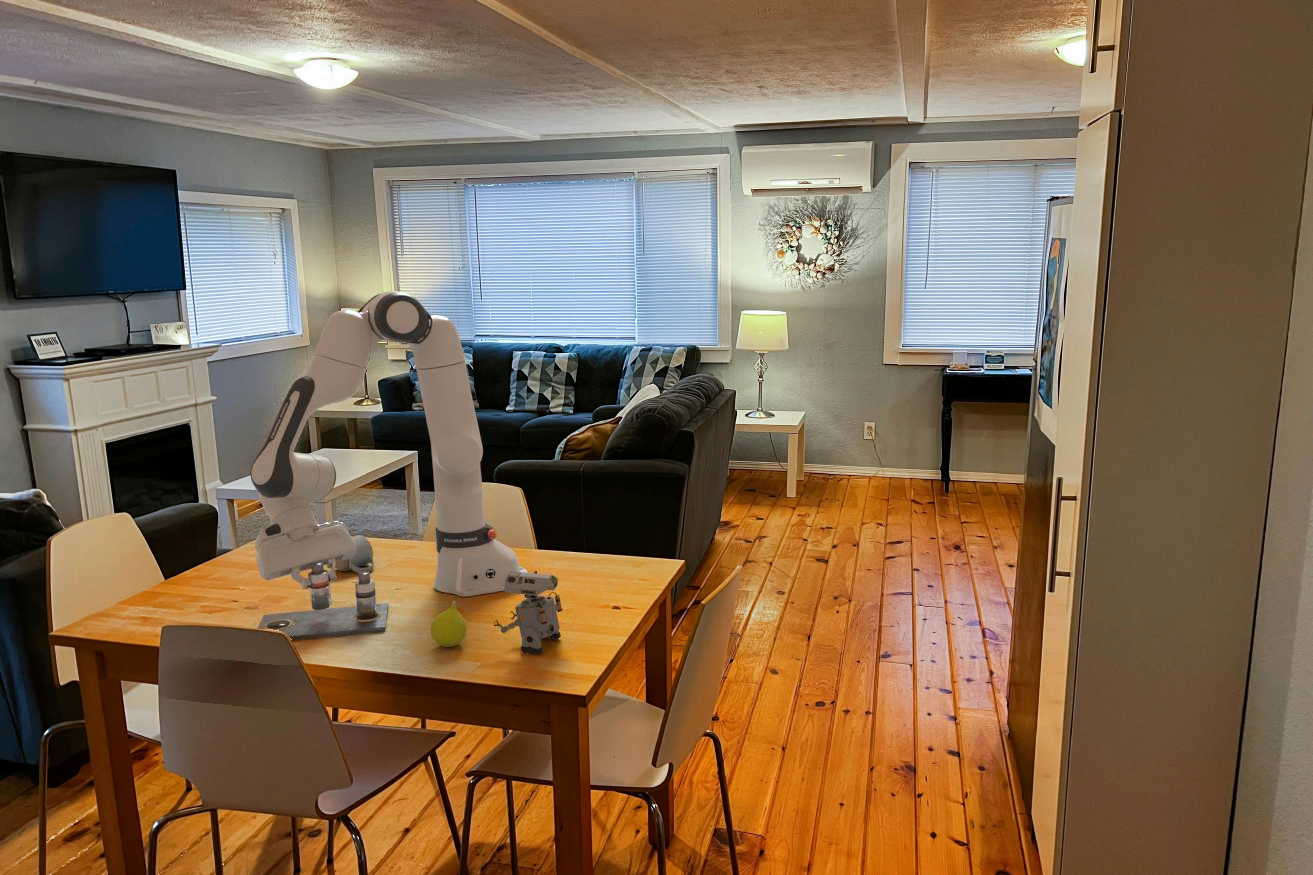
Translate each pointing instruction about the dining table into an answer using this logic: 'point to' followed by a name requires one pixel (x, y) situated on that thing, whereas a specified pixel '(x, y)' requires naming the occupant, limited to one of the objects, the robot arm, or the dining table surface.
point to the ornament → (448, 627)
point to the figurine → (533, 609)
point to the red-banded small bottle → (319, 587)
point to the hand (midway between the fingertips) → (320, 583)
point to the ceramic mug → (358, 557)
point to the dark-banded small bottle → (365, 596)
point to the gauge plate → (325, 622)
